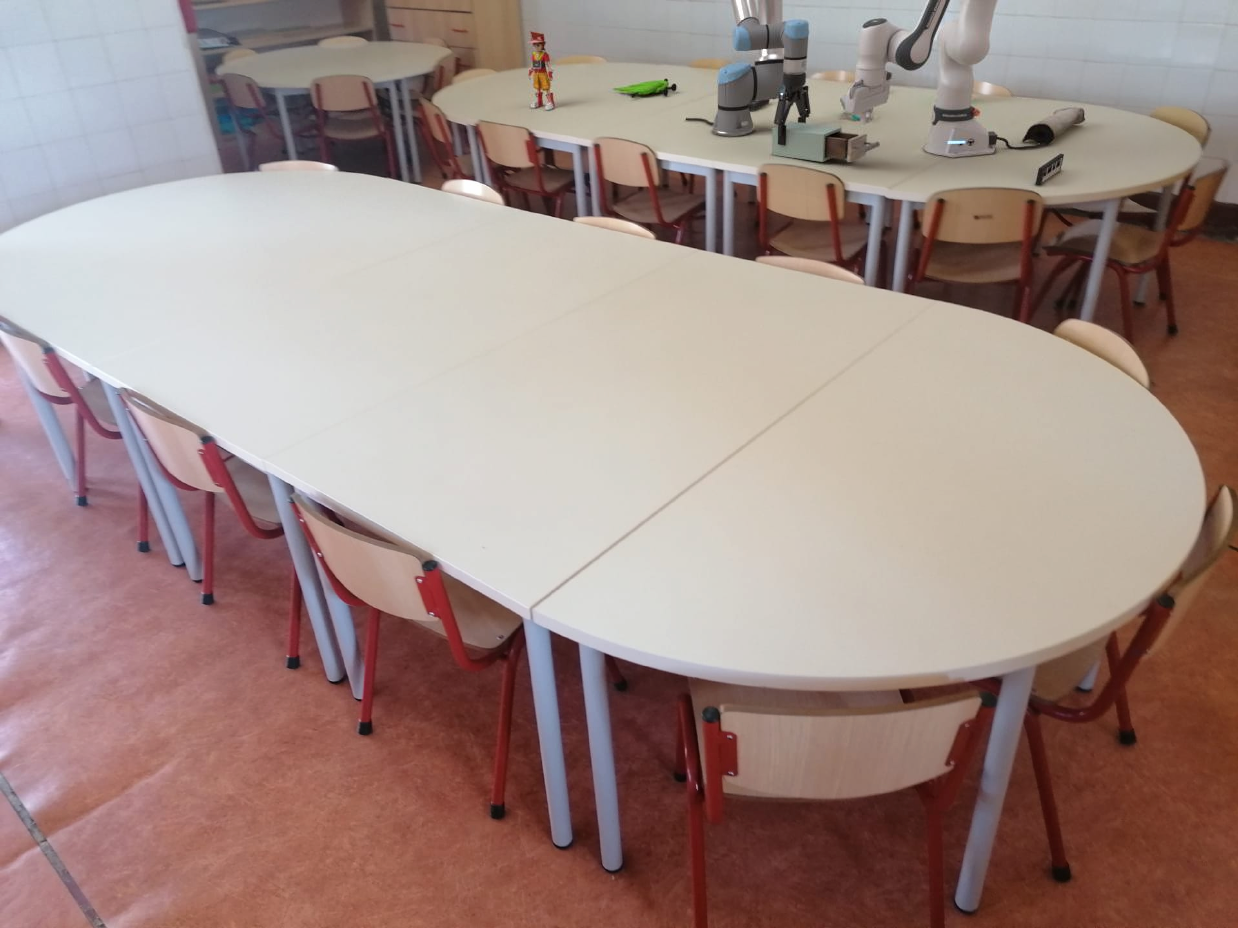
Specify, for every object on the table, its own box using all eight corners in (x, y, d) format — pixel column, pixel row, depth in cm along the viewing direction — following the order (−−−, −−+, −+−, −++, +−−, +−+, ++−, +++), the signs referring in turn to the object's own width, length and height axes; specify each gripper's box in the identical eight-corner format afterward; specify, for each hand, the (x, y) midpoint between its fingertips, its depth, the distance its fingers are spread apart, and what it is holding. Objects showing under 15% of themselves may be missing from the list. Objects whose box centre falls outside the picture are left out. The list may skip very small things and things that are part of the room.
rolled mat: (1051, 112, 323) (1076, 94, 315) (1065, 133, 323) (1091, 116, 315) (1017, 135, 306) (1043, 117, 298) (1032, 158, 306) (1058, 140, 298)
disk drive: (754, 111, 359) (769, 102, 369) (754, 104, 357) (770, 95, 367) (731, 109, 364) (746, 100, 374) (731, 102, 362) (747, 93, 372)
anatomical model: (835, 89, 346) (860, 82, 346) (837, 116, 352) (863, 109, 352) (846, 98, 334) (872, 91, 333) (848, 126, 340) (874, 119, 339)
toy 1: (525, 109, 381) (517, 32, 364) (534, 104, 388) (527, 28, 371) (550, 110, 377) (543, 32, 360) (559, 105, 384) (553, 28, 367)
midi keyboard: (1039, 185, 269) (1043, 168, 266) (1035, 184, 270) (1038, 168, 267) (1060, 170, 279) (1064, 154, 277) (1056, 169, 280) (1060, 153, 277)
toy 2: (686, 85, 398) (631, 84, 414) (685, 72, 395) (629, 72, 411) (651, 104, 381) (596, 103, 397) (650, 92, 378) (594, 91, 394)
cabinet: (840, 154, 303) (841, 127, 298) (822, 162, 297) (823, 134, 292) (790, 147, 316) (790, 121, 311) (772, 154, 310) (772, 128, 305)
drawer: (880, 157, 293) (881, 135, 289) (864, 164, 287) (866, 142, 283) (816, 148, 308) (816, 127, 304) (800, 155, 303) (800, 134, 299)
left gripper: (783, 80, 287) (780, 150, 299) (824, 67, 300) (819, 134, 312) (764, 78, 291) (762, 147, 304) (805, 65, 304) (801, 131, 317)
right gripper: (860, 85, 270) (855, 132, 278) (895, 72, 282) (890, 118, 290) (842, 82, 274) (838, 129, 282) (877, 70, 286) (872, 115, 294)
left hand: (791, 141), depth 308 cm, fingers closed on cabinet, 11 cm apart
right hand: (864, 123), depth 286 cm, fingers closed
